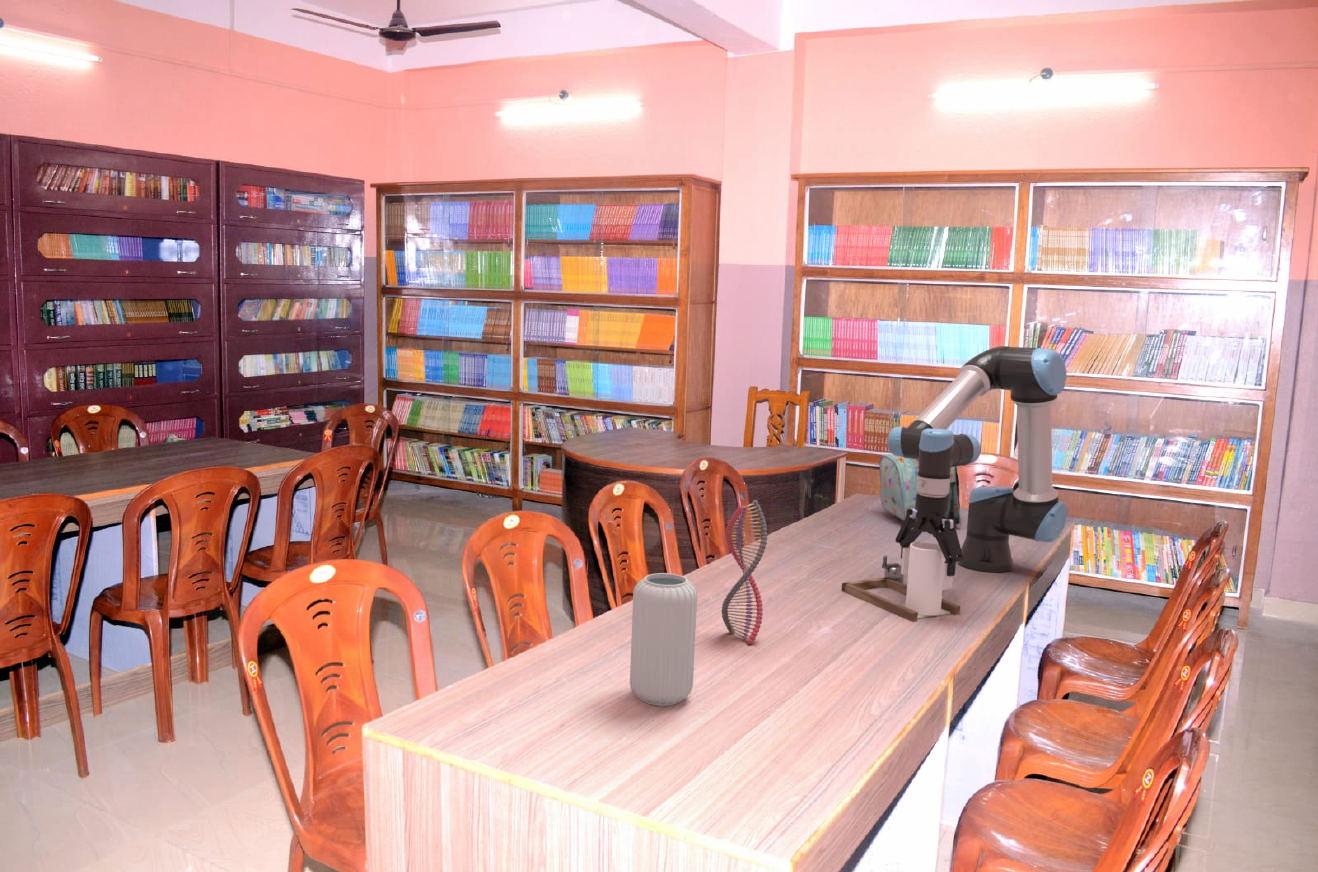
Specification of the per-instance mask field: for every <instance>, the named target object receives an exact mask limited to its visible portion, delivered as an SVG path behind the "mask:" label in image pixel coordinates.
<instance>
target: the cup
mask: <svg viewBox="0 0 1318 872" xmlns="http://www.w3.org/2000/svg"><path fill="white" fill-rule="evenodd" d="M909 547H910V555H909V568H908V574H907V581H906V585H907V594H906V595H905V607H906V608H909V609H911V610H913V611H916V612H918V615H926V616H933V615H938V614H940V613H941V601H942V599H943V598H942V597H943V589H941V584H942V571H943V562H945V561H946V559H945V557H944V555H943V553H942V551H941V548H940V546H939V544H938V542H937V543H936V542H931V541H914V542H912V543H911V544H910V546H909ZM933 617H934V616H933Z"/></svg>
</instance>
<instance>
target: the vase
mask: <svg viewBox="0 0 1318 872" xmlns="http://www.w3.org/2000/svg"><path fill="white" fill-rule="evenodd" d="M632 594H633V595H632V617H631V620H632V621H631V641H630V642H631V643H630V665H629V666H630V667H629V668H630V669H629V686H630V689H631V691H632V693H633V694H634V695H635V696H636V698H638V699H639V700H640V701H642V702H644V703H646V704H648V705H652V706H659V707H661V706H662V707H664V706H665V707H666V706H672V705H676V704H679V703H680V702H681V701H683V700H685V699H686V698H687V697H688V696H689V695H690V694H691V692H692V689H693V687H694V671H695V670H694V669H695V653H696V652H695V651H696V650H695V649H696V629H697V612H698V610H697V608H698V592H697V589H696V587H695V585H694V584H693V582H691V581H690V580H688V579H687V577H685V576H683V575H680V574H675V573H668V572H667V573H666V572H662V573H661V572H657V573H651V574H648V575H645V577H643V578H641V580H639V581H638V582H637V583H636V584H635V586H634V588H633V593H632Z"/></svg>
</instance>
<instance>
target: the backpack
mask: <svg viewBox="0 0 1318 872" xmlns="http://www.w3.org/2000/svg"><path fill="white" fill-rule="evenodd" d="M918 465H919V460H917V459H911V458H904V457H901V456H896V455H893V454H892V453H890V454H883V455H881V457H880V458H879V478H880V496H879V497H880V502H881V506H882V508H883V509H884V510H885V511H886V512H888V513H890V514H892V515H894V516H896V517H897V518H899V519H900V520H902V521H903V522H904V520H905V518H906V514H907V510H908V509H913V508H915V502H916V495H917V494H918V493H919V492H917V477H918ZM959 481H960V480H959V474H958V466H956V467H951V474H950V488H949V494H948V495H946V496H948V498H949V501H948V510H947V512H946V513H945V519H947V520H951V519H954V520H955V521H956V525H959V524H961V522H962V519H961V518H962V517H961V512H960V509H961V506H960V505H961V503H960V482H959ZM916 522H917V519H916V521H915V523H916ZM915 523H914V524H915Z"/></svg>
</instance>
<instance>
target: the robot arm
mask: <svg viewBox="0 0 1318 872" xmlns="http://www.w3.org/2000/svg"><path fill="white" fill-rule="evenodd" d="M1066 367H1067V366H1066V363H1065V361H1064V359H1063V357H1062V355H1061V354H1060V353H1059V352H1058V351H1056V350H1054V349H1047V348H1042V347H1021V346H1017V347H1016V346H1005V345H1003V346H996V347H995V346H994V347H992V348H989V349H987V350H984V351H982V352H979V353H978V354H977V355H975V356H974V357H972V358H971V359H969V360H968V361H966V363H964V364H963V365H962V366H961V367H960V368H959V369H958V371H957V373H956V378H955V379H953V380H952V382H950V384H949V385H948V386H947V387H945V389H944V390H943V391H942V392H940V394H939V395H938V396H937V397H936V398H935V399H934V400H933V401H932V402H931V403H930V404H929V405H928V406H927V407H926V408H925V409H924V410H923V411H922V412H921V413H920V414H919V415H918V416H917V417H916V418H915V419H914V420H913V421H912V422H911V423H910V424H909V425H908V426H907V427H906V426H895V427H893V428H892V429H891V430H890V432H889V434H888V436H887V446H888V450H889V452H890V454H892V455H896V456H901V457H904V458H911V459H917V460H919V465H918V477H917V492H919V493H918V494H917V495H916V502H915V508H913V509H908V510H907V514H906V518H905V520H904V521H903V522H902V525H901V527H900V528H899V531H898V533H897V535H896V537H895V539H894V540H895V542H896V543H897V544H899V545H900V548H901V549H900V550H901V551H900V559H901V574H904V575H908V568H909V555H910V544H911V543H912V542H916V540H917V539H918V537H919V536H920V535H921V534H922V533H927V534H930V535H932V536H933V537H934V538H935V539H936V542H937V544H939V546H940V548H941V551H942V553H943V555H944V557H945V562H943V571H942V584H941V589H942V591H944V590H952V589H953V582H954V581H953V579H954V576H955V575H956V565H957V564H958V565H960V566H962V567H965V568H967V569H971V570H975V571H980V572H988V573H1004V572H1005V573H1006V572H1009V571H1012V570H1013V569H1014V568H1013V567H1014V560H1013V557H1012V552H1011V547H1010V542H1009V541H1010V540H1009V538H1010V536H1013V537H1017V538H1023V539H1026V540H1032V541H1035V542H1041V543H1042V542H1043V543H1053V542H1054V541H1056V540H1057V539H1058V538H1059V537H1060V535H1062V532H1063V530H1064V529H1065V526H1066V524H1067V518H1068V506H1067V505H1066V503H1065V502H1063V501H1060V500H1059V492H1058V490H1057V489H1055V488H1054V487H1053V450H1052V449H1053V446H1052V444H1053V443H1052V442H1053V439H1052V438H1053V437H1052V432H1053V431H1052V429H1053V428H1052V405H1053V403H1055V401H1056V400H1057V399H1058V395H1060V394H1061V393H1062V392H1063V390H1064V389H1065V387H1066V383H1065V382H1066V381H1067V368H1066ZM992 390H1006V391H1010V401H1011V402H1012V403H1014V404H1015V406H1016V422H1017V424H1016V425H1017V426H1016V428H1017V433H1016V434H1017V462H1018V463H1017V465H1018V468H1017V470H1018V471H1017V472H1018V487H1017V488H1016V489H1015V490H1014V488H1013V487H1012V486H1005V485H1002V486H1001V485H994V486H993V485H989V486H988V485H987V486H986V485H985V486H977V487H974V488H972V490H970V494H969V498H968V499H969V500H968V503H967V504H968V510H967V511H968V512H967V525H966V537H965V539H964V541H963V543H962V546H961V544H960V540H959V536H958V532H957V527H956V525H957V524H956V521H955V520H954V519H951V520H947V519H945V513H946V512H947V510H948V501H949V498H948V496H946V495H948V494H949V488H950V474H951V467H956V466H957V467H963V466H965V467H966V466H968V465H970V464H974V463H975V462H976V461H978V459H979V457H980V456H981V451H982V448H981V443H980V441H979V440H978V439H977V437H975V436H974V435H972V434H970V433H965V434H964V433H959V434H954V432H953V431H952V430H951V429H950V430H949V429H948V428H950V426H952V425H953V423H954V422H955V421H956V420H957V419H958V418H959V417H960V416H961V415H962V414H963V413H964V412H965V411H966V410H967V409H968V408H969V406H971V405H972V404H973V402H974V401H975V400H977V399H978V398H979V397H982V396H985V395H986V394H988V392H989V391H992ZM916 519H917V522H916V523H915V521H916Z"/></svg>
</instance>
